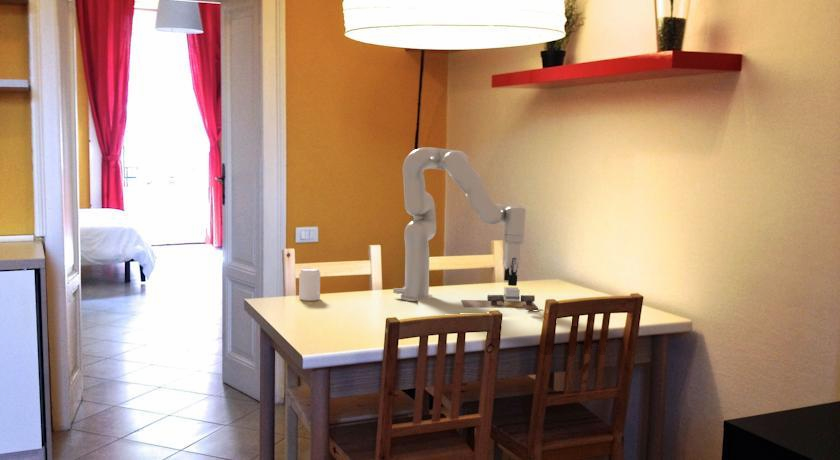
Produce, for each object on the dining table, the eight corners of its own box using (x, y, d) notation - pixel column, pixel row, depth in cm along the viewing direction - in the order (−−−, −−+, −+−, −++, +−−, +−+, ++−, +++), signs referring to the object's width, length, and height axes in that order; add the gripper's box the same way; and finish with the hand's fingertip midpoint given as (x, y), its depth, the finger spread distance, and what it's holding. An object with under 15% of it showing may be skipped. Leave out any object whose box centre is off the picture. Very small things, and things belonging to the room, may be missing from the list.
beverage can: (322, 297, 316) (322, 267, 314) (317, 302, 308) (317, 271, 306) (301, 296, 316) (302, 267, 315) (296, 301, 308) (296, 270, 307)
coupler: (505, 305, 303) (506, 289, 303) (503, 302, 309) (504, 287, 308) (519, 305, 304) (519, 290, 303) (517, 302, 309) (517, 287, 308)
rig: (464, 310, 299) (464, 297, 298) (460, 302, 312) (461, 290, 311) (538, 311, 300) (538, 298, 300) (531, 303, 313) (532, 291, 313)
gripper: (500, 235, 312) (497, 278, 314) (507, 241, 294) (503, 287, 297) (519, 236, 312) (516, 279, 314) (527, 242, 295) (523, 288, 297)
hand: (510, 282), depth 305 cm, fingers open, 9 cm apart
